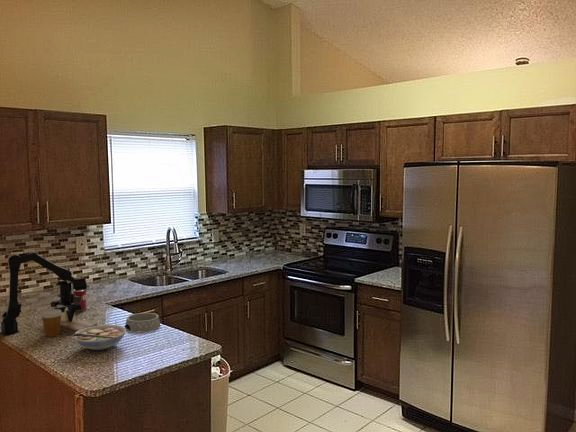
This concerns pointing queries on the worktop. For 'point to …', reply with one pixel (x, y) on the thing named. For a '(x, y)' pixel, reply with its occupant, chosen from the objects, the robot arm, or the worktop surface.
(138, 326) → the dog bowl
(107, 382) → the worktop surface
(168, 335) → the worktop surface
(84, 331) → the ramen bowl
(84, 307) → the soda can
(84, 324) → the walnut board
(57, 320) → the disposable coffee cup
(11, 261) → the robot arm
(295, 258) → the worktop surface
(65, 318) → the maple cube
